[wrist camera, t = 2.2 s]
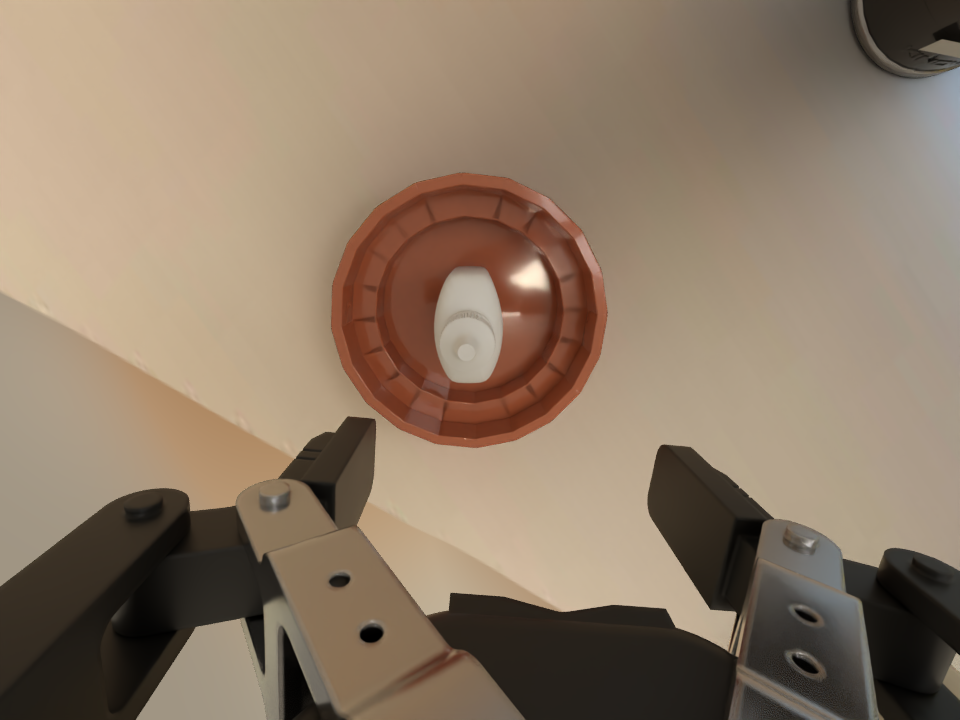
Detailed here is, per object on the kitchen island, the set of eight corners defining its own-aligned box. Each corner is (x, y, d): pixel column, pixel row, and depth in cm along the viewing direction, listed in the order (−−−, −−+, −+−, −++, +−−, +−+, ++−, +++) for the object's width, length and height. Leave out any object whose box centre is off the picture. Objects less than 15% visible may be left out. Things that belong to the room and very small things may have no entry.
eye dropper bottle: (421, 330, 29) (384, 386, 18) (461, 253, 28) (451, 261, 17) (478, 361, 30) (480, 435, 18) (520, 287, 29) (551, 317, 17)
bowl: (360, 172, 27) (335, 157, 22) (603, 201, 28) (630, 192, 23) (351, 404, 31) (328, 433, 26) (565, 425, 32) (581, 458, 27)
